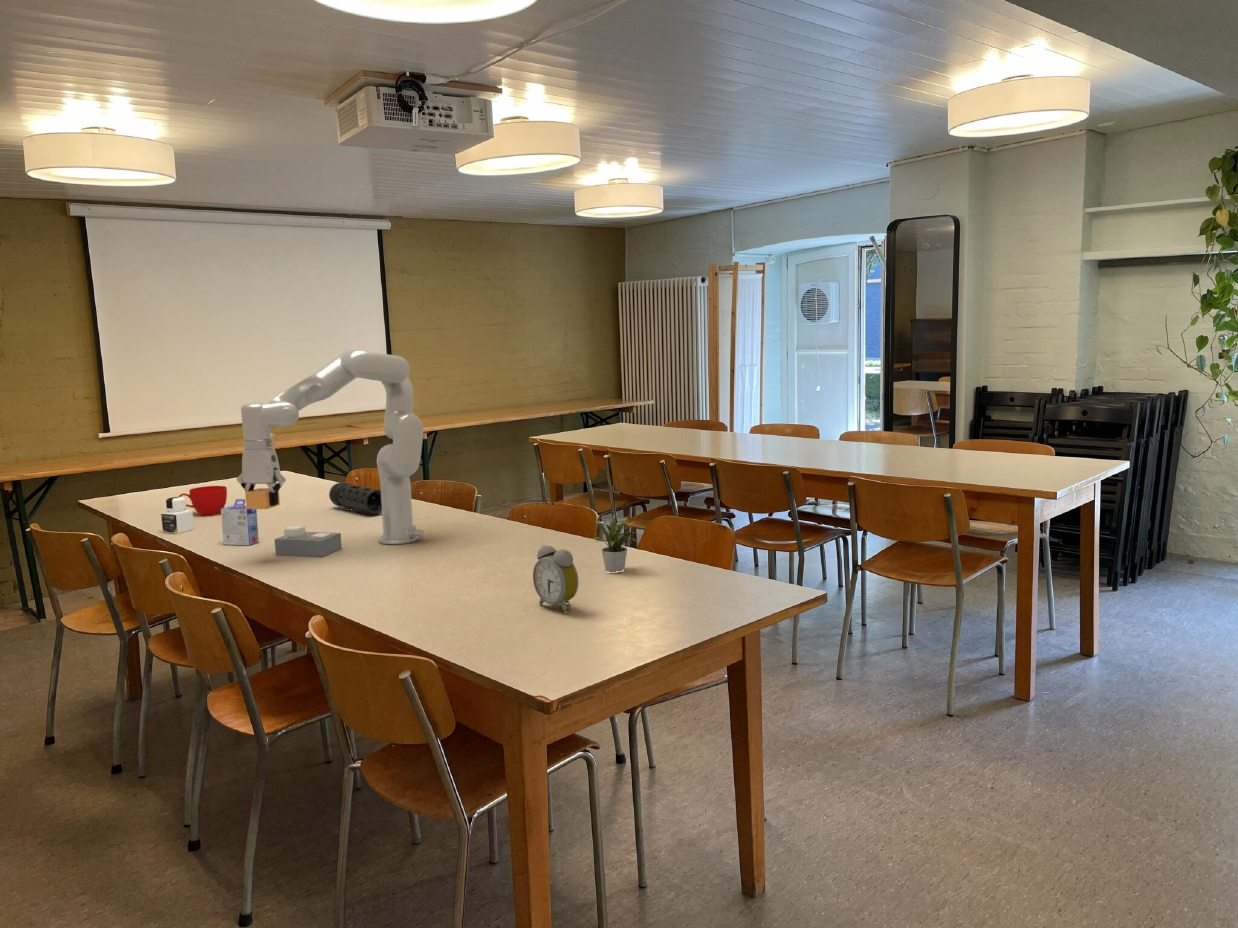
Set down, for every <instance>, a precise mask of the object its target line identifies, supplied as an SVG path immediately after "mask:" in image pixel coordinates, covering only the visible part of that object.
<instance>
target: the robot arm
mask: <svg viewBox="0 0 1238 928" xmlns="http://www.w3.org/2000/svg"><path fill="white" fill-rule="evenodd" d="M410 371H411V366H410V365H409V362H408V361H407V360H406V359H405V358H404V357H402V356H399V355H394V354H388V353H380V352H374V351H368V350H363V349H348V350H345V351H343V352H342V353H340V354H339V355H338V356H336V357H334V358H333V359H331V360H330V361H329V362H328V363H326V364H325V365H323V366H322V367H320V368H319V369H318V370H316V371H315V372H314V373H312V374H310V375H308V376H307V377H305V378H304V379H302V380H301V381H299V382H297V383H295V384H294V385H292V386H290V387H288V388H286V389H285V390H284V391H282V392H281V393H280V394H278V395H277V396H275V397H274V398H273V399H271V400H270V401H269V402H268V403H264V402H252V403H251V402H250V403H244V404H242V406H241V408H240V414H241V415H240V416H241V426H242V435H243V436H242V437H243V445H244V446H243V447H244V448H243V449H244V450H243V451H242V459H241V473H240V474H239V475H238V476H237V478H236V481H237V482H238V483H239V484H240V486H241V487H242V489H244V492H248V491H251V490H255V489H256V488H255V487H256V484H257V485H258V484H259V485H267V488H269V489H270V491H271V493H269V499H270V506H274V505H277V504H278V491H279V492H280V489H281V488H282V486H283V485H284V484H285V482H287V479H286V477H285V476H283V475H282V474H281V467H280V463H279V458H278V455H277V452H276V449H275V448H273V447H274V446H275V443H276V442H275V441H273V440H272V434H271V433H272V431H271V427H281V428H284V427H291V426H293V425H294V424H296V422H298V420H299V418H300V411H301V410H302V409H304V408H306V407H308V406H309V405H312V404H314V403H317V402H321V401H324V400H327V399H329V398H331V397H332V396H334V395H335V394H337V393H338V392H339V391H340V390H342V389H343V388H344V387H346V386H347V385H348V384H350V383H352V382H353V381H354V380H356V379H357V378H358V379H365V380H371V381H378V382H380V383H381V384H382V385H383V387H384V389H385V394H386V395H385V397H386V401H385V410H384V417H383V418H384V420H383V432H384V434H385V435H386V436H387V437H388V438H389V439H391V440H392V443H389V444H386V445H383V446H382V447H381V448H380V449H379V451H378V453H377V457H376V467H377V473H378V477H379V478H378V479H379V486H380V491H381V505H382V512H381V518H382V519H381V521H382V535H381V536H379V537H378V543H381V544H383V545H403V544H404V545H405V544H409V543H413V542H415V541H417V540H419V537H423V536H424V534H425V533H424V529H418V528H417V525H416V524H413V523H414V522H413V508H412V507H413V503H412V487H411V486H412V485H411V480H410V477H411V476H413V475H414V474H415V473H416V472H417V470H418V469H419V466H420V463H421V456H422V449H423V438H424V427H423V423H422V420H421V419H420V418H419V416H418V415H416V414H414V413H413V410H414V398H415V397H414V396H415V395H414V387H413V384H412V382H411V380H410V377H409V375H410Z"/></svg>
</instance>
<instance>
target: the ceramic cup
mask: <svg viewBox="0 0 1238 928" xmlns="http://www.w3.org/2000/svg"><path fill="white" fill-rule="evenodd" d="M227 489H228V487H227V486H226V485H225V486H224V485H207V486H198V487H193V488H190V489H189V493H180V494H179V495H178V497H183V496H186V497H187V498H189V500H190V501H191V504H192V505H191V504H187V503H186V508H192V509H194V510H195V511H196V512H197V513H198V514H199V515H200V516H202V517H203V516H204V517H209V516H217V515H220V514H221V509H222V508H225V507H226V504H227V497H228V490H227ZM216 514H217V515H216Z"/></svg>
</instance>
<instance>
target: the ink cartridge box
mask: <svg viewBox="0 0 1238 928" xmlns="http://www.w3.org/2000/svg"><path fill="white" fill-rule="evenodd" d="M240 502H242V503H240ZM220 514H221V515H220V516H221V528H222V529H221V530H222V543H223V545H225V546H226V545H228V546H229V545H230V546H252V545H255V544H258V543H259V542H260V541H259V540H260V539H259V526H258V525H259V524H258V511H257V509H247V506H246V498H244V499H243V498H236V499H235V501H234V504H233V505H230V506H229V505H228V506H224V508H222V509H221V512H220Z"/></svg>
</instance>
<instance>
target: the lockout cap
mask: <svg viewBox="0 0 1238 928" xmlns="http://www.w3.org/2000/svg"><path fill="white" fill-rule="evenodd" d="M244 492H245V491H244ZM269 493H271V491H270V489H269V487H267V488H266V487H258V488H254V490H251V491H248V492H245V493H244V494H245V499H246V500H245V506H247V509H256V510H269V509H272V508H275V507H278V506H280V505H281V501H280V490H279V491H278V504H277V505H274V506H270V499H269Z"/></svg>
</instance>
